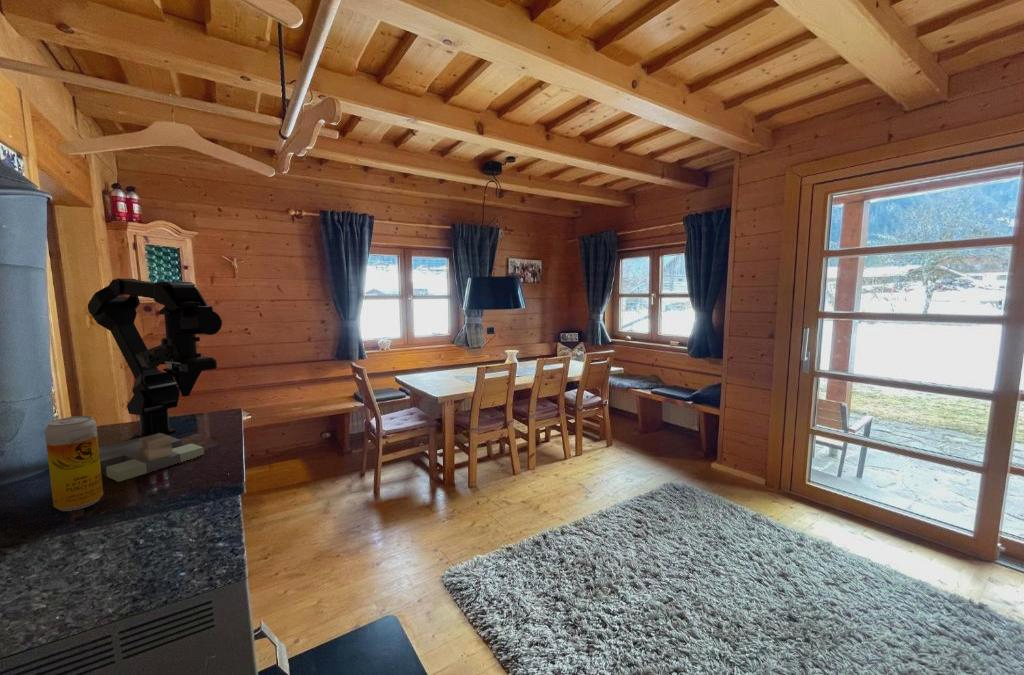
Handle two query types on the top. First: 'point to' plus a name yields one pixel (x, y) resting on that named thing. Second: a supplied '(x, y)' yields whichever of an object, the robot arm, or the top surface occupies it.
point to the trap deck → (128, 463)
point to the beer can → (74, 462)
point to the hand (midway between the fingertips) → (185, 396)
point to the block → (155, 447)
